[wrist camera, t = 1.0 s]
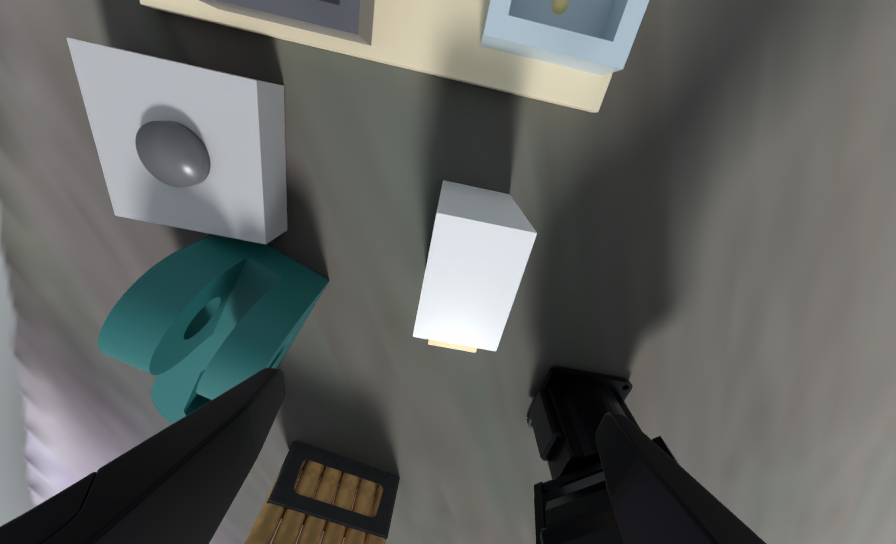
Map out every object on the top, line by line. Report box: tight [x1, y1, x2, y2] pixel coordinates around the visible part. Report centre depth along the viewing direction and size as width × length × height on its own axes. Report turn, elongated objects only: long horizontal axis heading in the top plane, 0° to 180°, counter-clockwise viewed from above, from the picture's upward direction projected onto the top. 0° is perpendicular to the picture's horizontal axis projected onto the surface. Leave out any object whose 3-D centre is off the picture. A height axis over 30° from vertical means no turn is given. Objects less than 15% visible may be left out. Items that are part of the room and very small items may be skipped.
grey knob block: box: [67, 38, 287, 244], centre depth 16 cm, size 8×8×3 cm
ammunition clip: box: [245, 441, 400, 544], centre depth 25 cm, size 11×2×12 cm, turn 61°
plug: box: [413, 180, 537, 353], centre depth 17 cm, size 4×7×7 cm, turn 169°
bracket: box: [98, 234, 329, 424], centre depth 21 cm, size 18×7×8 cm, turn 145°
